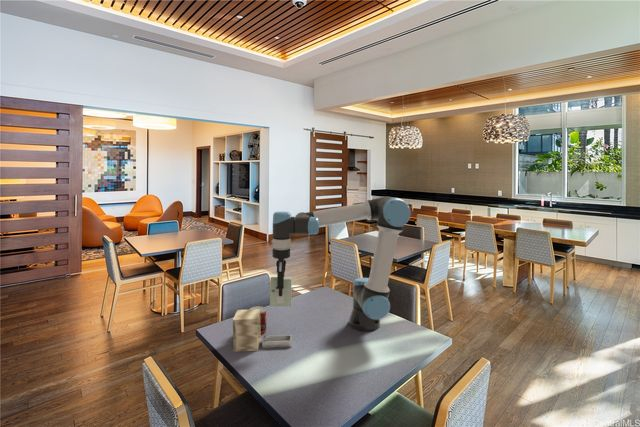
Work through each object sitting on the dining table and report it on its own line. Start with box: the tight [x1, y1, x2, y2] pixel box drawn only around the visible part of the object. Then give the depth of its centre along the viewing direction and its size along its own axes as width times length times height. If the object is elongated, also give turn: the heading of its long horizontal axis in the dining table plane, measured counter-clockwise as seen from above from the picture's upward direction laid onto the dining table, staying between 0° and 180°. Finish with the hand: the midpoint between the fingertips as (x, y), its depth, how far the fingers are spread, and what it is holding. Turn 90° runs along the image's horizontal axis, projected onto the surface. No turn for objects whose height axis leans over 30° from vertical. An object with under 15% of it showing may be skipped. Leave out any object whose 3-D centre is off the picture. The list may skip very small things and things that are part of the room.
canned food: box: [248, 305, 267, 336], centre depth 154 cm, size 8×8×11 cm
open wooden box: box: [232, 308, 262, 352], centre depth 142 cm, size 10×10×14 cm
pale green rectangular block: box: [269, 276, 293, 307], centre depth 141 cm, size 9×4×12 cm, turn 93°
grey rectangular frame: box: [261, 334, 293, 349], centre depth 143 cm, size 13×6×3 cm, turn 94°
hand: (280, 300), depth 141 cm, fingers closed on pale green rectangular block, 3 cm apart
